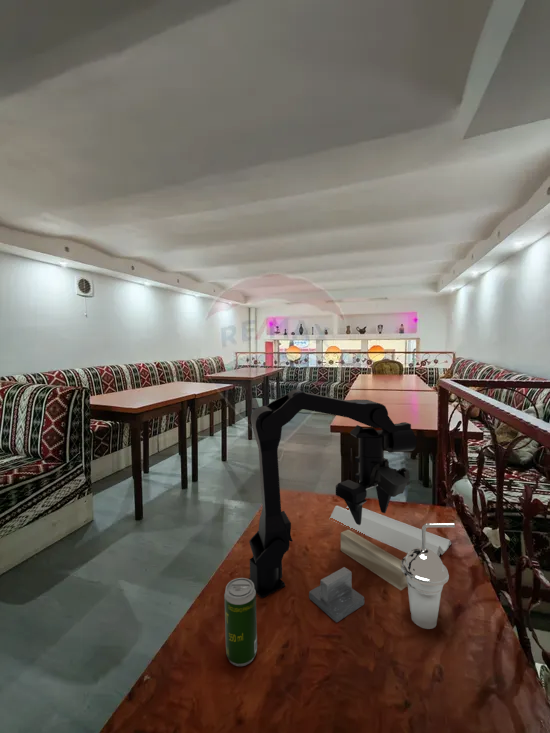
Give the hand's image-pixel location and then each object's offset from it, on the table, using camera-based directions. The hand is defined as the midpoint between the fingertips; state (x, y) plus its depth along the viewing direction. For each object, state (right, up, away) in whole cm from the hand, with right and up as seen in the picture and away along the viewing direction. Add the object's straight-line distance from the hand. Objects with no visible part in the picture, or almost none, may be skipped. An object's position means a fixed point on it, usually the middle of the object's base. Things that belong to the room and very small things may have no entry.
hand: (371, 518), depth 82 cm
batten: (0, -12, 0) cm, 12 cm away
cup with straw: (+6, -13, -16) cm, 21 cm away
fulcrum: (-10, -13, -11) cm, 19 cm away
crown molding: (+9, -12, +16) cm, 22 cm away
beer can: (-29, -14, -22) cm, 39 cm away
